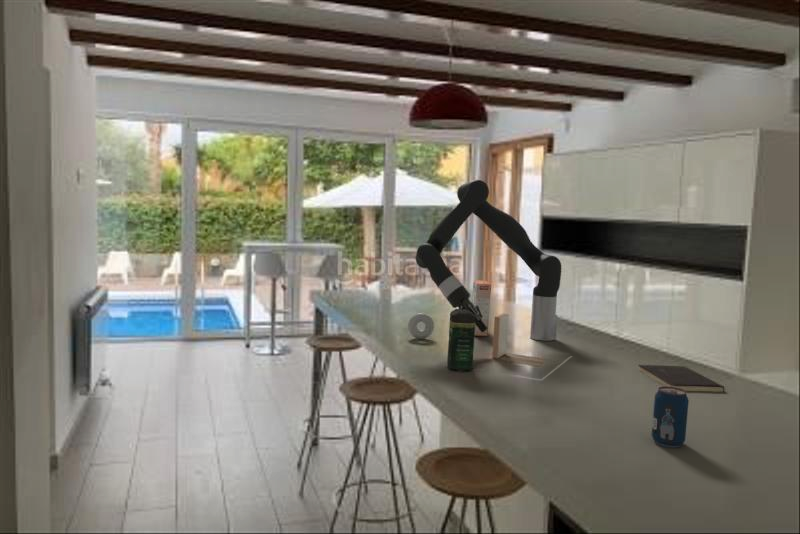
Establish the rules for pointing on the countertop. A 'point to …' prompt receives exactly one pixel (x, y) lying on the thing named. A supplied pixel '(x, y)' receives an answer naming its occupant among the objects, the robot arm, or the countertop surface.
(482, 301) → the cracker box
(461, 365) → the coffee jar
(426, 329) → the donut
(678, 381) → the hardcover book
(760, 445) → the countertop surface
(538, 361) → the board
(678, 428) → the soda can
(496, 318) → the tile
